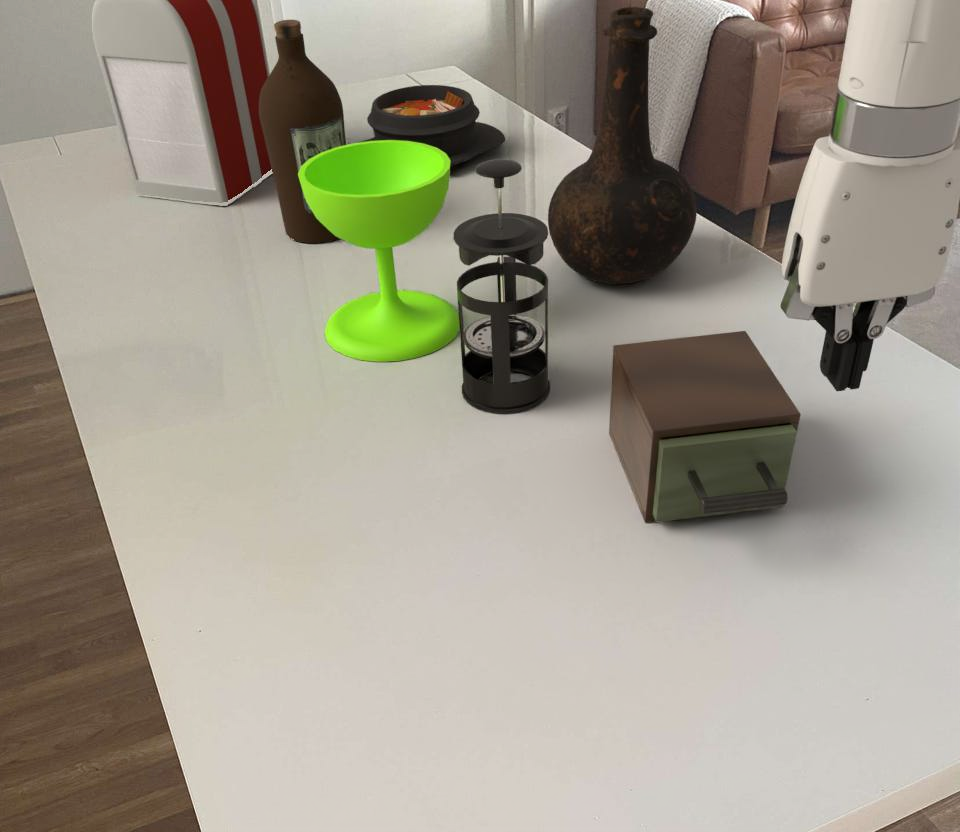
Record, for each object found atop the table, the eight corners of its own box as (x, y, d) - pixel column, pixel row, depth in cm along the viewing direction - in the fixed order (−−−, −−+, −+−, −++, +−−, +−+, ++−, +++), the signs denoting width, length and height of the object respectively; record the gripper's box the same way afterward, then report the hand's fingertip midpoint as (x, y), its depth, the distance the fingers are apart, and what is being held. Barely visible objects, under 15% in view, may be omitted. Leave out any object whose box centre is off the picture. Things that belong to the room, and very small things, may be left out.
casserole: (478, 126, 165) (476, 69, 159) (525, 163, 153) (524, 103, 147) (332, 154, 159) (324, 96, 153) (368, 194, 147) (360, 133, 141)
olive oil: (268, 228, 140) (227, 23, 122) (334, 207, 144) (305, 6, 126) (304, 253, 133) (267, 40, 116) (372, 231, 137) (347, 22, 120)
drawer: (803, 544, 85) (821, 468, 80) (671, 561, 85) (680, 485, 79) (734, 424, 99) (745, 351, 93) (620, 437, 98) (624, 365, 92)
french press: (548, 417, 103) (548, 186, 86) (456, 417, 103) (439, 187, 87) (552, 359, 111) (553, 137, 95) (467, 359, 112) (453, 139, 96)
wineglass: (482, 341, 114) (474, 177, 102) (348, 374, 111) (322, 209, 98) (432, 284, 125) (419, 130, 112) (308, 313, 121) (280, 157, 109)
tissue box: (133, 196, 151) (73, -15, 132) (199, 154, 162) (152, -46, 143) (227, 207, 146) (178, -9, 127) (288, 163, 157) (252, -42, 138)
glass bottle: (612, 316, 117) (625, 45, 97) (518, 265, 128) (513, 12, 108) (721, 270, 124) (754, 9, 104) (623, 226, 135) (637, -19, 115)
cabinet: (782, 506, 91) (801, 413, 84) (645, 523, 90) (652, 431, 83) (732, 418, 101) (745, 330, 94) (608, 433, 100) (613, 345, 93)
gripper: (982, 86, 65) (915, 343, 78) (757, 114, 65) (727, 368, 78) (1043, 126, 60) (959, 394, 73) (799, 156, 59) (759, 421, 73)
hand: (840, 380), depth 75 cm, fingers closed
